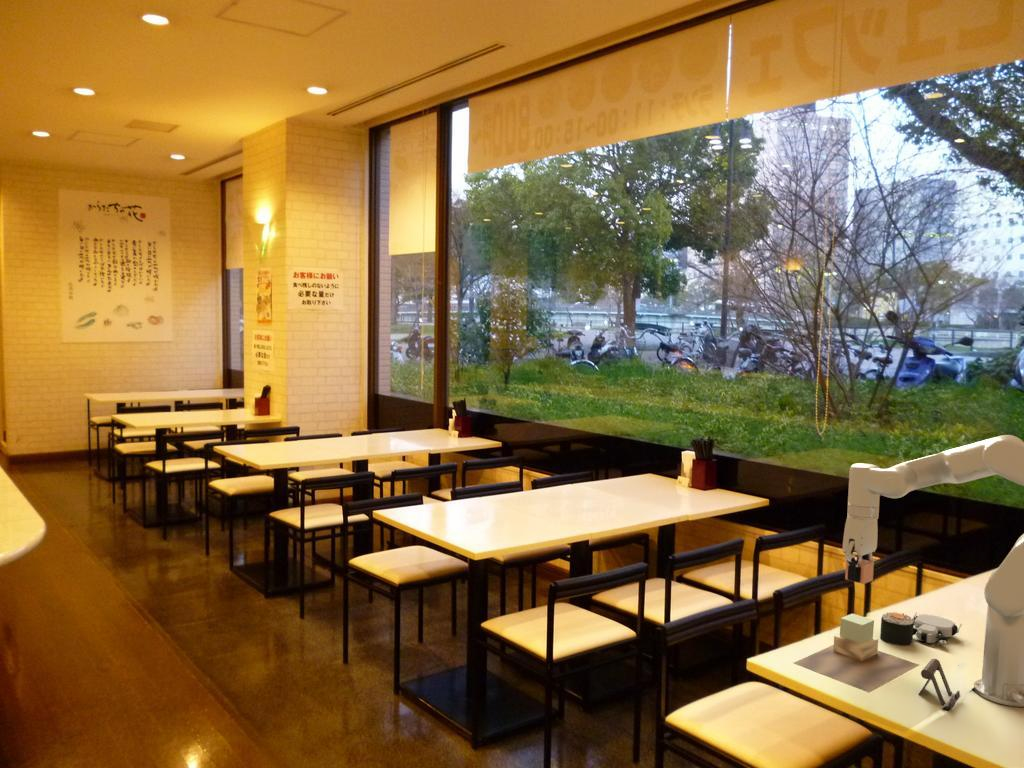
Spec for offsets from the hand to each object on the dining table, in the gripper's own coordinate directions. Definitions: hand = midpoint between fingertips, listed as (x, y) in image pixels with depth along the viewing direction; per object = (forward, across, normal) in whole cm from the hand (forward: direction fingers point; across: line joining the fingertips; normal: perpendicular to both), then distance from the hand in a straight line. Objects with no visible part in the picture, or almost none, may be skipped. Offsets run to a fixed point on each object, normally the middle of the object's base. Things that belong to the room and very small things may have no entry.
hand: (859, 578), depth 213 cm
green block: (+16, 0, 0) cm, 16 cm away
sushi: (+22, -18, +3) cm, 28 cm away
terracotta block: (0, 0, 0) cm, 0 cm away
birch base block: (+20, 0, 0) cm, 20 cm away
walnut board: (+21, +7, +4) cm, 23 cm away
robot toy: (+22, -30, +7) cm, 38 cm away
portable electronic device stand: (+22, +9, +24) cm, 34 cm away
